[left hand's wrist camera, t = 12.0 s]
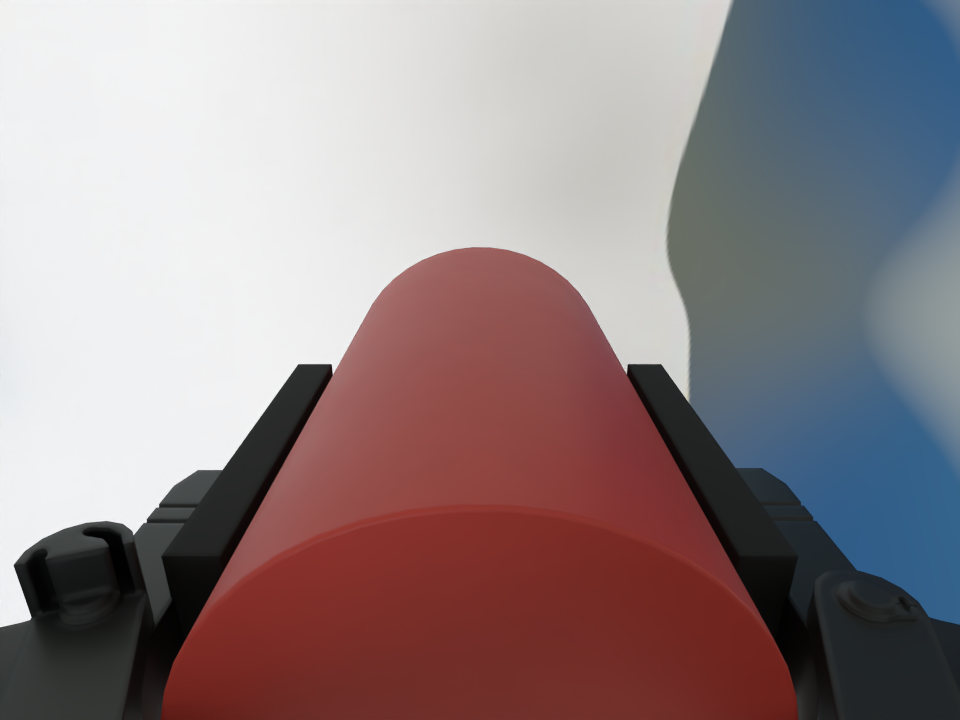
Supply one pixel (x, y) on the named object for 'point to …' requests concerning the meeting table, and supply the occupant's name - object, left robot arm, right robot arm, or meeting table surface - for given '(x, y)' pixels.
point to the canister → (479, 535)
